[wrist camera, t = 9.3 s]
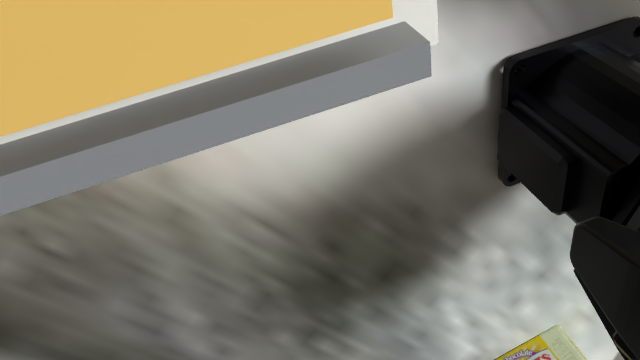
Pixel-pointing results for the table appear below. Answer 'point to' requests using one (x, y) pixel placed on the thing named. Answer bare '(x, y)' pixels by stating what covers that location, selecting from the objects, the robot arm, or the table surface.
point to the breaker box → (215, 107)
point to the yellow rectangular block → (145, 46)
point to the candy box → (546, 348)
